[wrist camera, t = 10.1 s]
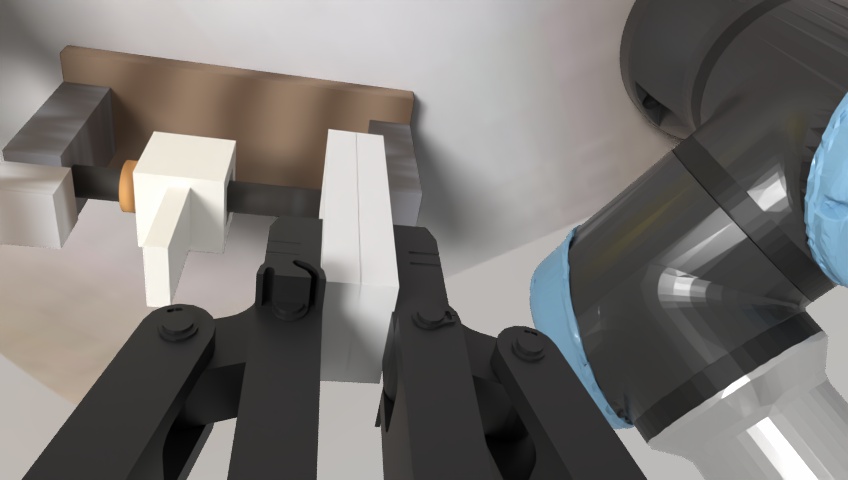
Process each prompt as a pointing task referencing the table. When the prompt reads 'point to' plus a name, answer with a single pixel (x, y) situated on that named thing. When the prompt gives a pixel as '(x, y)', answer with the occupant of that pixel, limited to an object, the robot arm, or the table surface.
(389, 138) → the cord rack
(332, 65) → the table surface
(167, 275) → the sleeve
